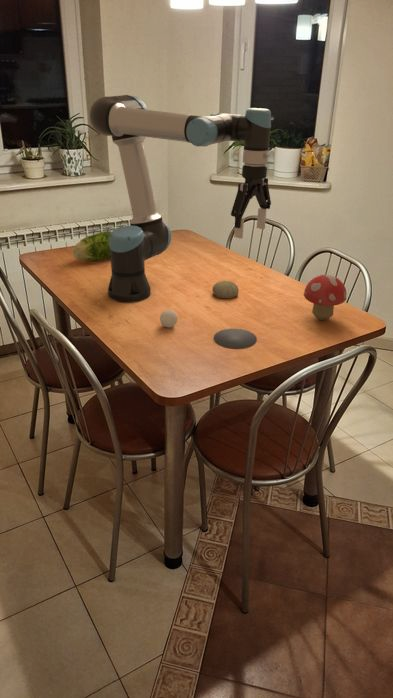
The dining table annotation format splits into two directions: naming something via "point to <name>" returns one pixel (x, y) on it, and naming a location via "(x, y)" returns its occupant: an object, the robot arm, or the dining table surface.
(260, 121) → the robot arm
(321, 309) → the decorative mushroom
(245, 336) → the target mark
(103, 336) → the dining table surface
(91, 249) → the lettuce
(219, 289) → the sea urchin shell
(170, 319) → the ball
